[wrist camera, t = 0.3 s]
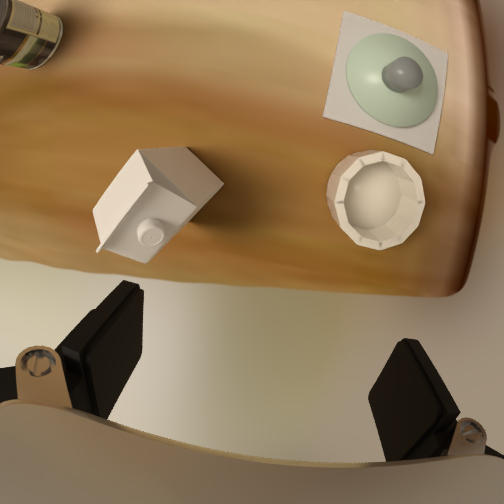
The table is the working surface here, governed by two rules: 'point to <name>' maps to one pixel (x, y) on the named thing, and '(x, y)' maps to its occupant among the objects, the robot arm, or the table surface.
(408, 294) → the table surface
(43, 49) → the coffee can
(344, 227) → the bowl
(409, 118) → the lid
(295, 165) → the table surface
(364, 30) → the mat
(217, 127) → the table surface
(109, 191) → the milk carton
